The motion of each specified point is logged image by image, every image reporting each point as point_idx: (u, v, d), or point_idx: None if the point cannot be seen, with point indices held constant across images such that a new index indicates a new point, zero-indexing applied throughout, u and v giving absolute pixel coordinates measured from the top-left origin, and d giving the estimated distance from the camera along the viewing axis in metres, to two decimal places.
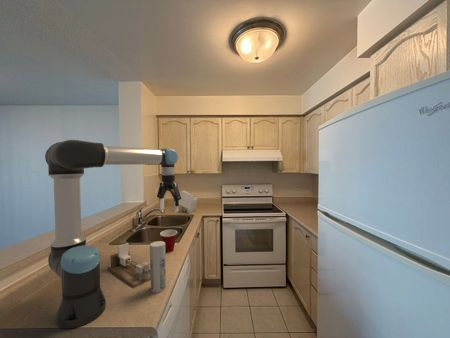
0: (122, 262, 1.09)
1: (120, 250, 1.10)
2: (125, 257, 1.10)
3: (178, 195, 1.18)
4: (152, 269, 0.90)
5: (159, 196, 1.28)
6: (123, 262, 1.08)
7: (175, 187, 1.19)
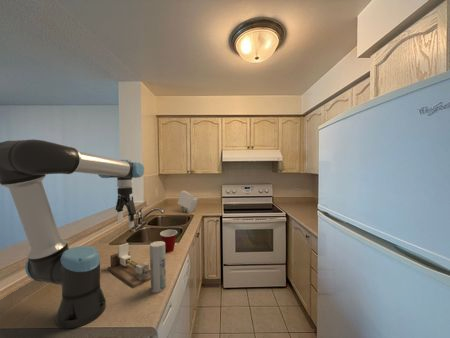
0: (122, 262, 1.09)
1: (120, 250, 1.10)
2: (125, 257, 1.10)
3: (133, 209, 1.11)
4: (152, 269, 0.90)
5: (117, 209, 1.21)
6: (123, 262, 1.08)
7: (130, 201, 1.13)
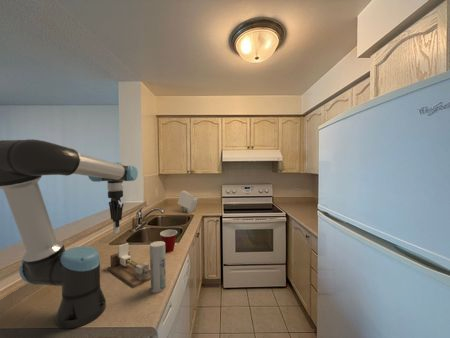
0: (122, 262, 1.09)
1: (120, 250, 1.10)
2: (125, 257, 1.10)
3: (119, 216, 1.14)
4: (152, 269, 0.90)
5: (112, 218, 1.16)
6: (123, 262, 1.08)
7: (119, 208, 1.13)
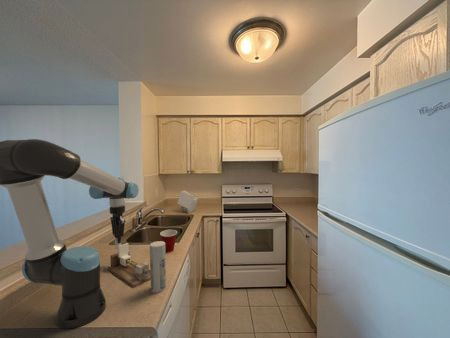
0: (122, 262, 1.09)
1: (120, 250, 1.10)
2: (125, 257, 1.10)
3: (121, 233, 1.12)
4: (152, 269, 0.90)
5: (114, 234, 1.15)
6: (123, 262, 1.08)
7: (121, 224, 1.11)
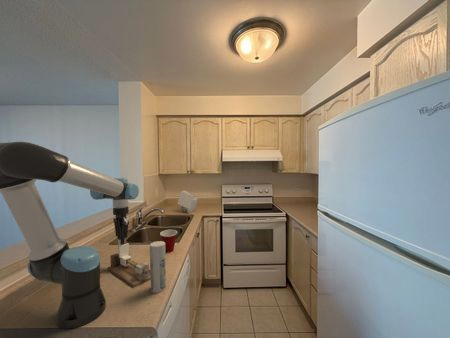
0: (122, 262, 1.08)
1: (120, 250, 1.09)
2: (125, 257, 1.10)
3: (124, 234, 1.10)
4: (152, 269, 0.90)
5: (117, 235, 1.12)
6: (123, 262, 1.08)
7: (125, 226, 1.09)
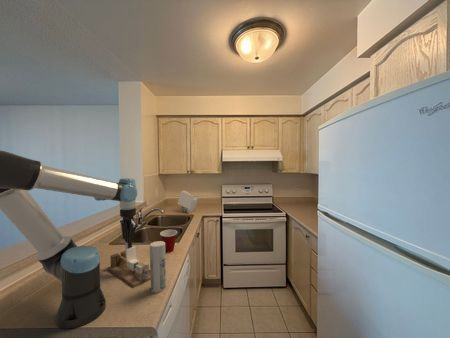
0: (130, 266, 1.04)
1: (128, 254, 1.05)
2: (133, 261, 1.05)
3: (132, 237, 1.05)
4: (152, 269, 0.90)
5: (124, 238, 1.08)
6: (131, 266, 1.03)
7: (132, 228, 1.04)
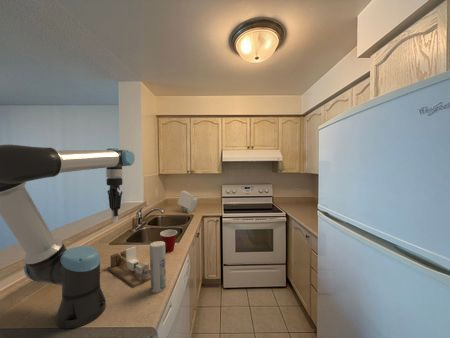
0: (130, 266, 1.04)
1: (128, 254, 1.05)
2: (133, 261, 1.05)
3: (117, 205, 1.08)
4: (152, 269, 0.90)
5: (111, 207, 1.11)
6: (131, 266, 1.03)
7: (118, 196, 1.07)
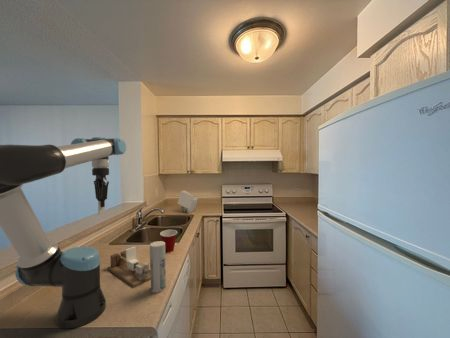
0: (130, 266, 1.04)
1: (128, 254, 1.05)
2: (133, 261, 1.05)
3: (104, 195, 1.06)
4: (152, 269, 0.90)
5: (97, 197, 1.09)
6: (131, 266, 1.03)
7: (104, 186, 1.05)
